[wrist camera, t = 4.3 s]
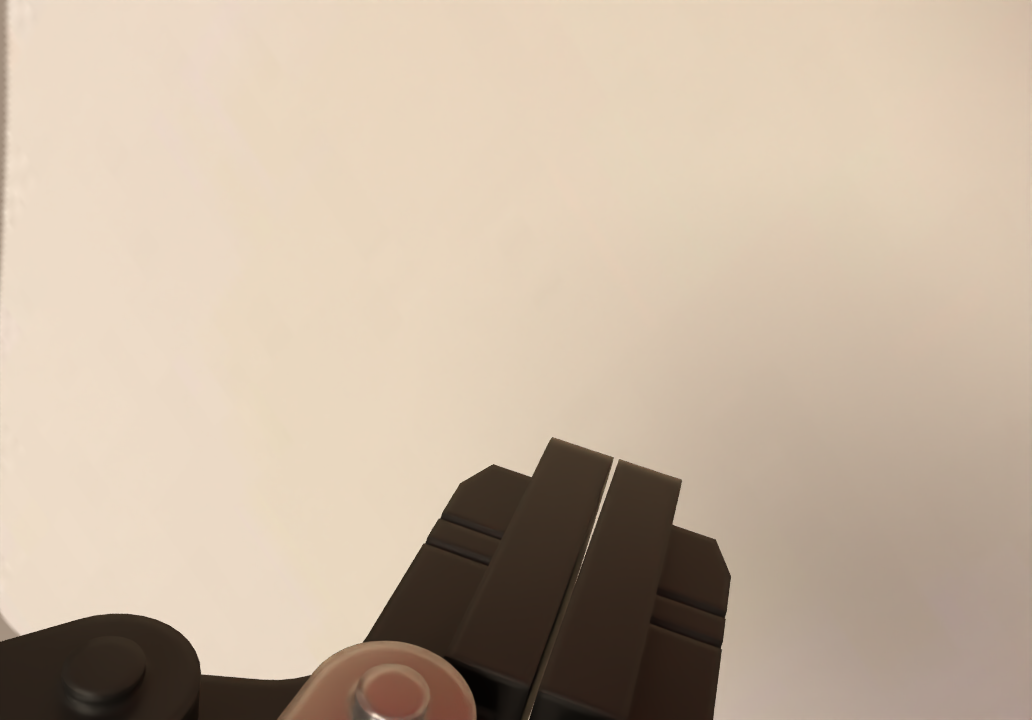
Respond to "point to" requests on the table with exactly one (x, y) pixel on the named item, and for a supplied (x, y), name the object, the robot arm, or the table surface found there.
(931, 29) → the table surface
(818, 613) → the table surface
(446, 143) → the table surface
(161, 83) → the table surface
